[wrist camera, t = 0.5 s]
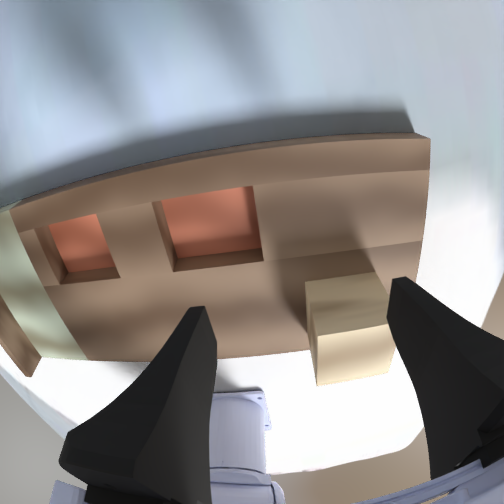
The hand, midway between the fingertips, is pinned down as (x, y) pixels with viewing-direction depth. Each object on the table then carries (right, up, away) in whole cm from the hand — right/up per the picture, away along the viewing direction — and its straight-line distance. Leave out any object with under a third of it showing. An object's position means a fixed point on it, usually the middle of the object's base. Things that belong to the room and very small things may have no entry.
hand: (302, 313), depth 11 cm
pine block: (+4, -2, +10) cm, 11 cm away
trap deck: (-8, +1, +11) cm, 13 cm away
